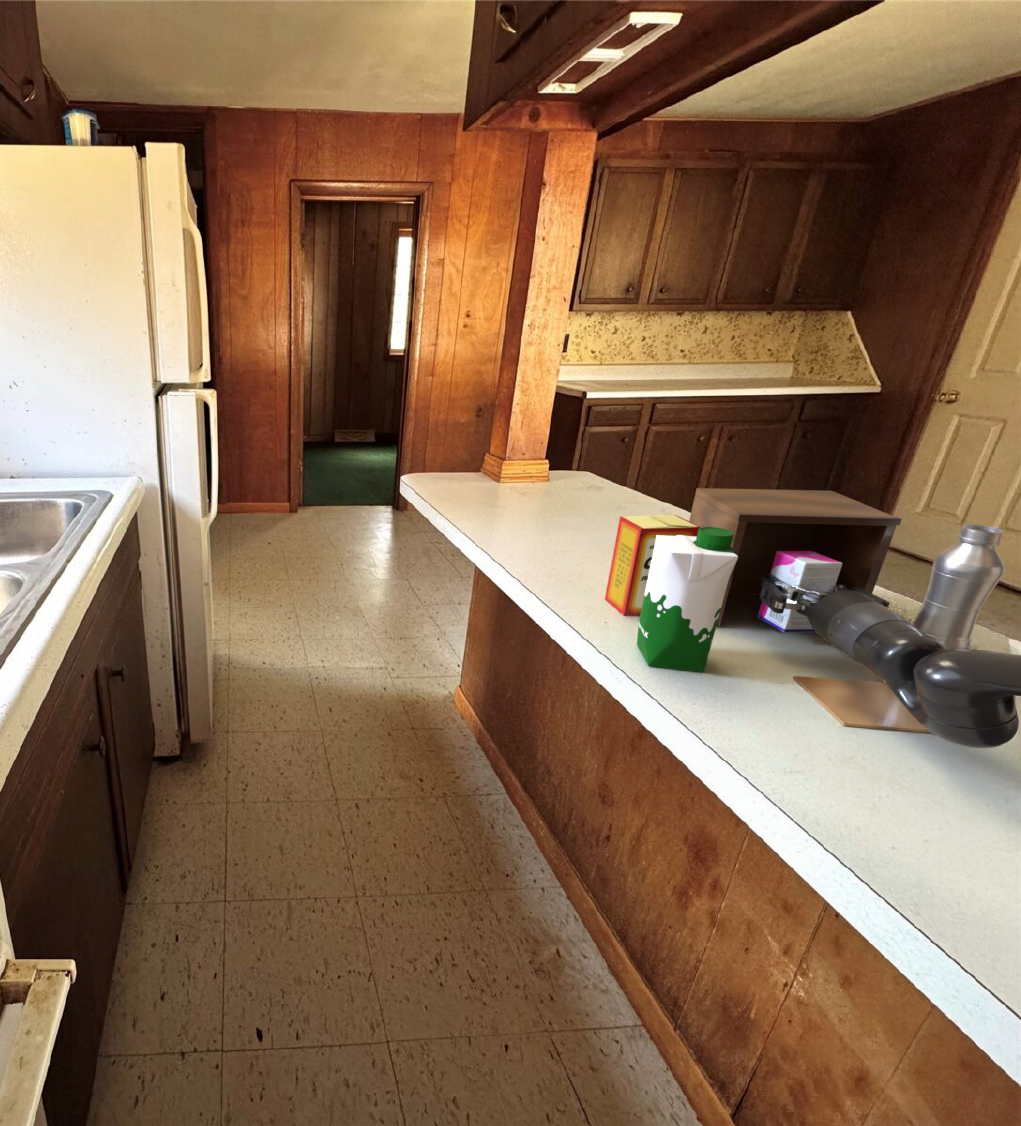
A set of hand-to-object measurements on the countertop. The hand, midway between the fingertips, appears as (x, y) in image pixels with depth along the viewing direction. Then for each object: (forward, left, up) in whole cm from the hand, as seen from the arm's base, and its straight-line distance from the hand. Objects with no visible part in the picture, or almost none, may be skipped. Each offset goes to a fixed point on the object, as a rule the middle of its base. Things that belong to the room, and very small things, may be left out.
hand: (791, 580), depth 97 cm
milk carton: (+21, +13, -8) cm, 26 cm away
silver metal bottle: (-15, +8, -8) cm, 19 cm away
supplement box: (0, +2, -7) cm, 7 cm away
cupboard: (0, -6, -8) cm, 10 cm away
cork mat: (+1, +22, -8) cm, 23 cm away
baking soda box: (+19, -5, -8) cm, 21 cm away
